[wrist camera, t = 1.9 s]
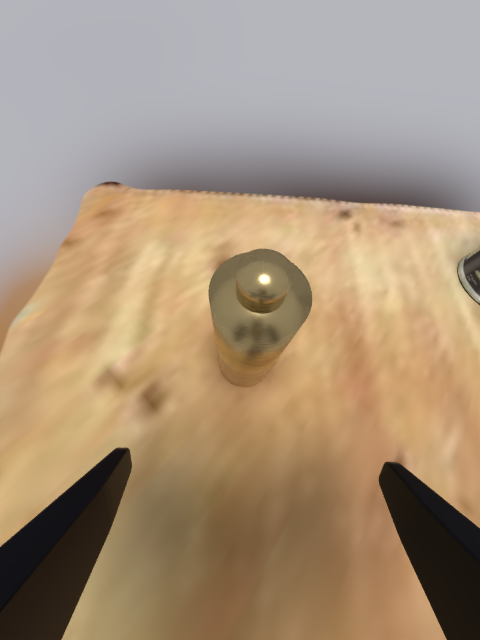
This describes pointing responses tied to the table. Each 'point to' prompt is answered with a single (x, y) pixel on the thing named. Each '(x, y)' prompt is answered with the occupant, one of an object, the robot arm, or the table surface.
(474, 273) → the coffee can
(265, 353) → the brass weight
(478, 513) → the table surface
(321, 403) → the table surface
